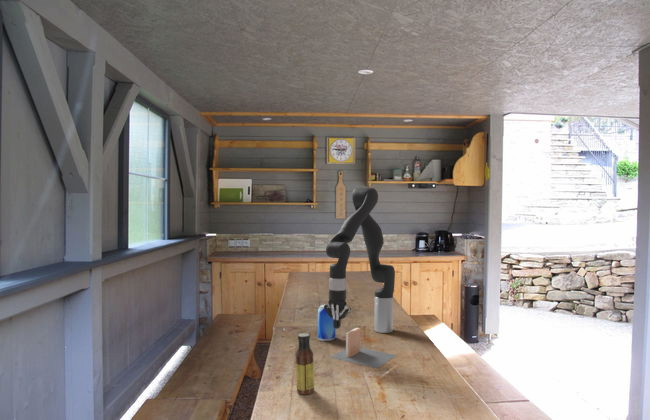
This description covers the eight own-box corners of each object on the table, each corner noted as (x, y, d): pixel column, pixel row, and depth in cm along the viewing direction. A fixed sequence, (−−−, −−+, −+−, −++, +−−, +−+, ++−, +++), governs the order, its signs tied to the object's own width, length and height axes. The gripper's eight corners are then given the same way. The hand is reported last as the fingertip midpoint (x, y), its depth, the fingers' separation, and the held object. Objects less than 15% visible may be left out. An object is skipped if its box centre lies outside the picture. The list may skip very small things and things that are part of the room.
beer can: (320, 342, 212) (320, 308, 212) (315, 337, 220) (315, 304, 220) (337, 341, 215) (338, 307, 214) (332, 336, 223) (332, 303, 222)
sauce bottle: (314, 387, 163) (314, 331, 162) (314, 395, 156) (314, 337, 156) (295, 388, 162) (295, 331, 162) (295, 395, 156) (295, 337, 156)
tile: (356, 350, 200) (356, 327, 200) (360, 351, 199) (360, 328, 199) (345, 356, 193) (346, 332, 192) (349, 357, 192) (349, 333, 191)
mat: (351, 347, 207) (351, 345, 207) (396, 356, 195) (396, 355, 195) (329, 358, 192) (329, 357, 192) (377, 369, 180) (377, 368, 180)
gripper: (355, 288, 199) (354, 328, 199) (329, 285, 206) (328, 323, 207) (346, 291, 193) (345, 332, 193) (319, 287, 200) (319, 327, 200)
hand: (336, 328), depth 200 cm, fingers closed
